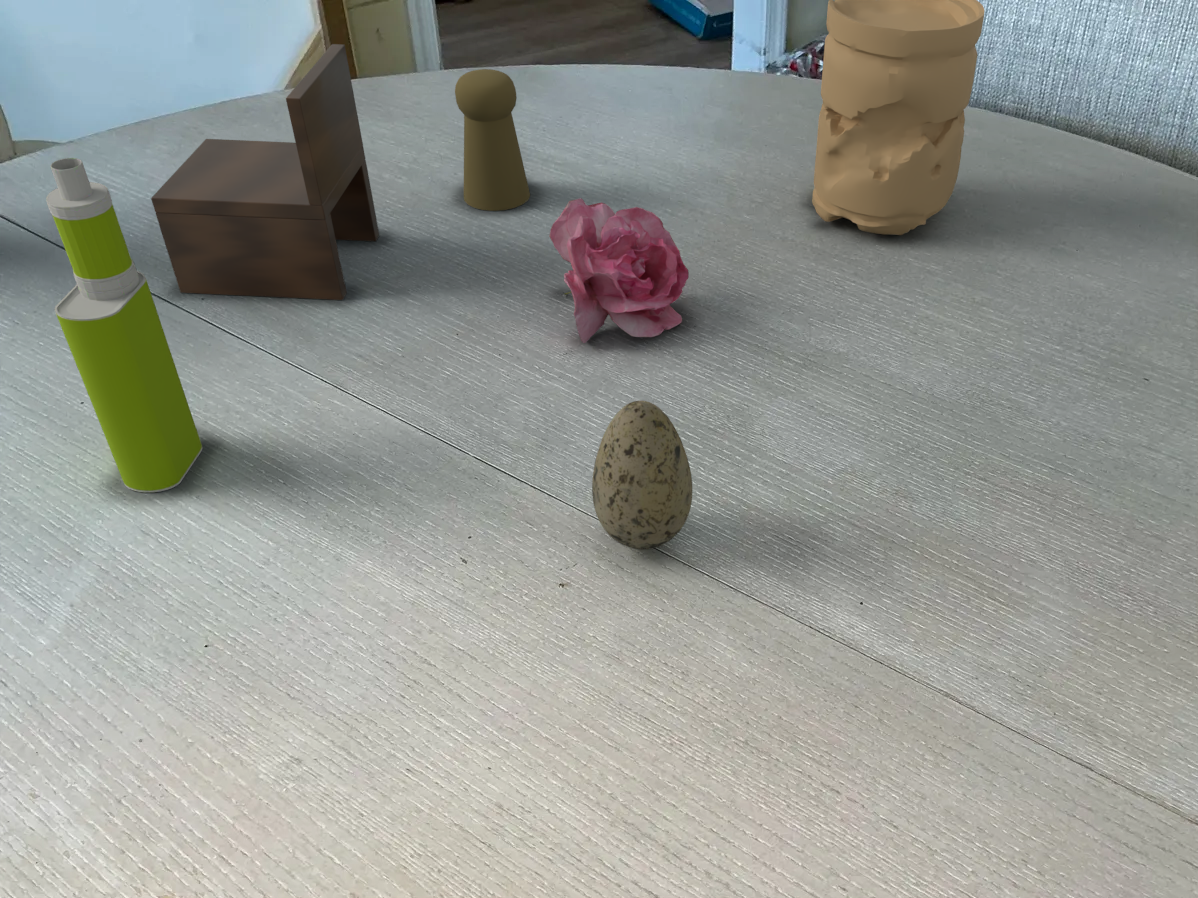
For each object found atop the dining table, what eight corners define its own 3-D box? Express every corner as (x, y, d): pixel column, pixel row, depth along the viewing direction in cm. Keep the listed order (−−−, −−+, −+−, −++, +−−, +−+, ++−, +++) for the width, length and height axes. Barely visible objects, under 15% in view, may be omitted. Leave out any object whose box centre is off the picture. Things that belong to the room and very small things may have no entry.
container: (784, 201, 108) (797, -6, 96) (889, 171, 113) (914, -28, 101) (870, 258, 100) (896, 40, 88) (979, 223, 105) (1018, 14, 93)
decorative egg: (616, 582, 70) (610, 447, 63) (581, 522, 74) (571, 389, 67) (707, 555, 72) (710, 421, 65) (668, 498, 76) (667, 366, 69)
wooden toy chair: (180, 292, 93) (116, 90, 83) (230, 228, 101) (178, 37, 91) (342, 300, 93) (299, 98, 82) (379, 235, 101) (344, 44, 91)
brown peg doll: (485, 217, 104) (470, 92, 97) (451, 192, 108) (434, 71, 100) (543, 198, 107) (533, 76, 100) (507, 175, 111) (495, 56, 103)
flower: (698, 350, 95) (712, 297, 85) (577, 376, 93) (577, 324, 83) (663, 223, 97) (672, 157, 87) (544, 246, 95) (540, 182, 85)
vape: (210, 438, 79) (115, 150, 66) (172, 494, 75) (63, 197, 61) (156, 434, 79) (51, 147, 66) (115, 490, 75) (-6, 193, 62)
